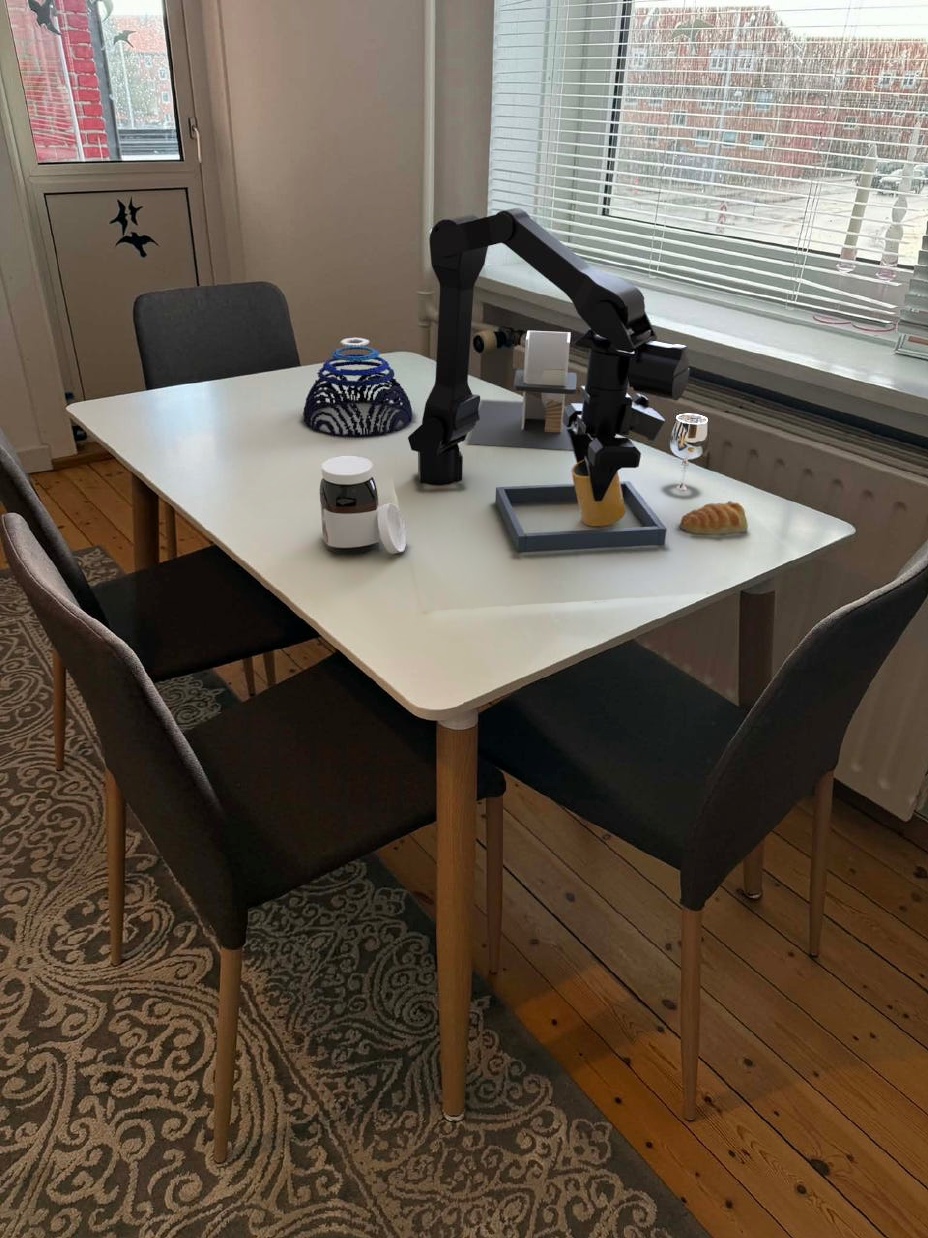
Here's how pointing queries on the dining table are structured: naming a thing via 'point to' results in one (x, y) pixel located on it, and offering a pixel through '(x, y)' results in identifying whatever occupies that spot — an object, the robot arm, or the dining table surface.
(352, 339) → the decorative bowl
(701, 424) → the wineglass
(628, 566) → the dining table surface
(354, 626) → the dining table surface
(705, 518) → the pastry
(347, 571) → the dining table surface
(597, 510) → the tapered yellow cylinder
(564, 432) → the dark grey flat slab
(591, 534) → the blue tray
